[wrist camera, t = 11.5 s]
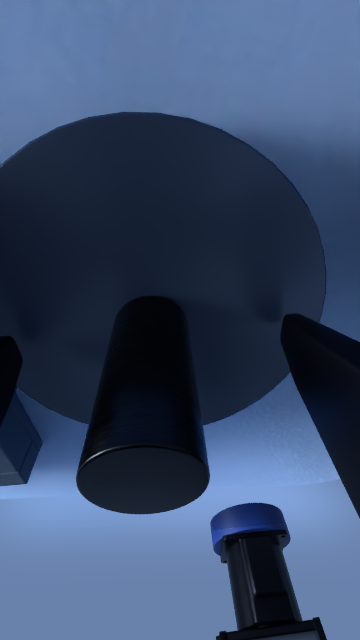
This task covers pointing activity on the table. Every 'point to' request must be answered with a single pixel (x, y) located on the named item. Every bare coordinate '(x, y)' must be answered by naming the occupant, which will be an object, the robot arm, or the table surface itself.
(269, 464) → the table surface
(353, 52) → the table surface
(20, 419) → the tray
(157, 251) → the lid
